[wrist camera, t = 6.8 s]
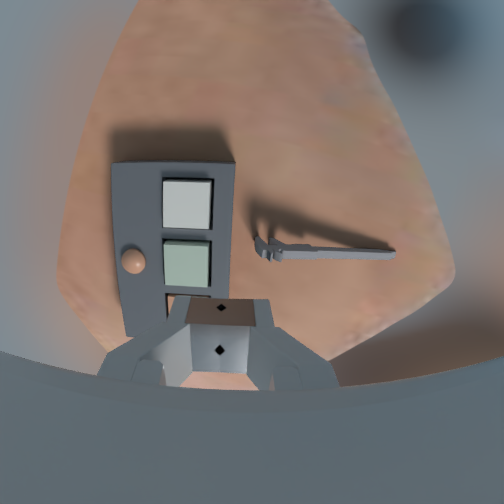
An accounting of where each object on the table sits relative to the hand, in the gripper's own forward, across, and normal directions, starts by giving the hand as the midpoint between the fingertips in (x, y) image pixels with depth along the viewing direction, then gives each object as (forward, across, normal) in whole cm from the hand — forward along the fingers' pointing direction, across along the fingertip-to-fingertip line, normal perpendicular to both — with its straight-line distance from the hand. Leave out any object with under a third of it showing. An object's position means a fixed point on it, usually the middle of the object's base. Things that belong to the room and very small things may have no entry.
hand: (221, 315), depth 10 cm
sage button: (+26, +5, +9) cm, 28 cm away
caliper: (+28, -13, +8) cm, 32 cm away
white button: (+26, +5, +2) cm, 26 cm away
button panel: (+28, +7, +9) cm, 30 cm away
